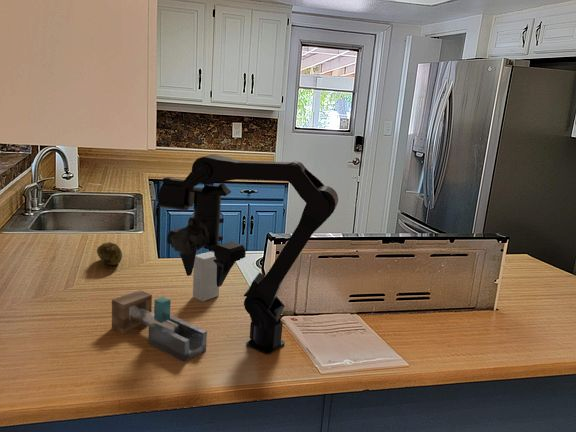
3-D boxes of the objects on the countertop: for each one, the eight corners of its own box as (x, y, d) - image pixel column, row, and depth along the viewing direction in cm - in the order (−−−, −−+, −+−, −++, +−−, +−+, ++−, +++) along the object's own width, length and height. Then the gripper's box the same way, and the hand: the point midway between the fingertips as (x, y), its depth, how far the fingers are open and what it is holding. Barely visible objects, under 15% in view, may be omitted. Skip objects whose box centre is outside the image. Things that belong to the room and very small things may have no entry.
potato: (129, 259, 157) (129, 235, 155) (118, 273, 144) (118, 247, 143) (102, 257, 156) (102, 233, 154) (89, 271, 144) (89, 245, 142)
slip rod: (179, 334, 107) (180, 303, 105) (169, 339, 105) (170, 307, 103) (134, 313, 115) (134, 284, 113) (124, 318, 113) (124, 287, 111)
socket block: (151, 322, 116) (151, 294, 114) (123, 333, 109) (123, 304, 108) (140, 317, 118) (140, 290, 116) (111, 328, 112) (111, 299, 110)
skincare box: (208, 291, 137) (210, 250, 134) (219, 296, 134) (221, 254, 131) (191, 297, 132) (193, 255, 129) (202, 302, 129) (204, 259, 127)
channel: (206, 350, 105) (206, 331, 104) (184, 361, 100) (185, 341, 99) (170, 333, 111) (171, 315, 110) (148, 343, 106) (148, 324, 105)
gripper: (148, 210, 104) (147, 278, 108) (213, 228, 94) (209, 303, 98) (186, 203, 113) (184, 267, 117) (249, 219, 103) (244, 288, 107)
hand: (203, 280), depth 110 cm, fingers open, 9 cm apart
